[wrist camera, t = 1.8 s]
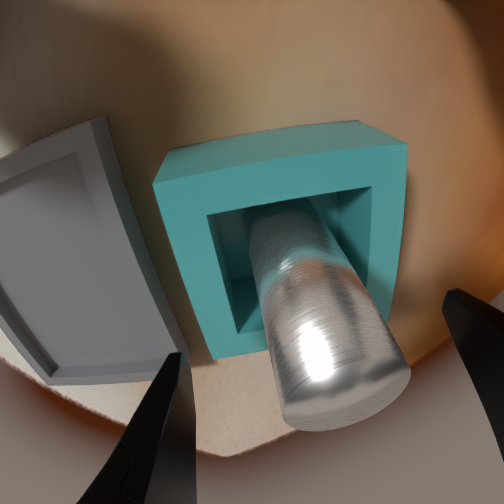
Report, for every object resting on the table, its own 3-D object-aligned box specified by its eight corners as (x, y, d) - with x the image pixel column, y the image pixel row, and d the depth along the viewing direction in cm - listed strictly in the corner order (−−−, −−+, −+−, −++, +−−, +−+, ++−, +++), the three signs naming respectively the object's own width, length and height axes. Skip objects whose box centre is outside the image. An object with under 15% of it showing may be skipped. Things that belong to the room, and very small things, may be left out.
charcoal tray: (105, 114, 12) (89, 121, 11) (190, 353, 21) (190, 376, 19) (-51, 187, 12) (-69, 201, 10) (54, 366, 21) (48, 385, 19)
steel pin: (312, 182, 15) (424, 340, 6) (316, 245, 17) (396, 410, 8) (237, 195, 15) (276, 380, 6) (249, 258, 17) (286, 440, 8)
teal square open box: (357, 120, 14) (407, 143, 10) (357, 269, 19) (388, 320, 15) (168, 150, 14) (152, 184, 10) (210, 299, 19) (212, 359, 15)
